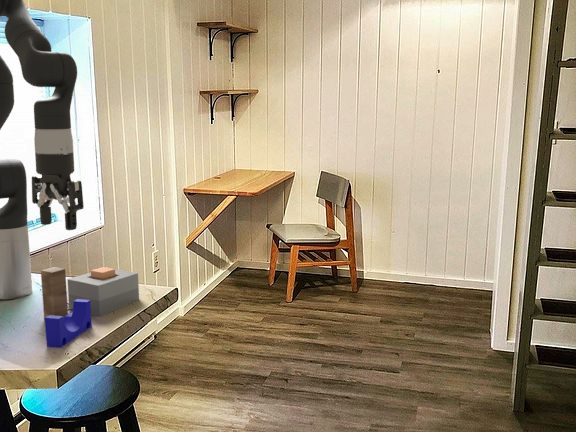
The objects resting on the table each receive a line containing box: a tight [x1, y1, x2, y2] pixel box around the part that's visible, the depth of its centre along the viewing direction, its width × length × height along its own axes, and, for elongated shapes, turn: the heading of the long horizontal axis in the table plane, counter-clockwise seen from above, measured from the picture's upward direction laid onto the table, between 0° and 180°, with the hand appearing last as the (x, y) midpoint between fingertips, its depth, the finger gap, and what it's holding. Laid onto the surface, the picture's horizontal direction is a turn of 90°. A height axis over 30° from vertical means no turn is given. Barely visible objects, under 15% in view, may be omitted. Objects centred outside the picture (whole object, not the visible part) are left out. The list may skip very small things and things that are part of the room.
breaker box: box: [66, 267, 140, 317], centre depth 148 cm, size 10×12×7 cm
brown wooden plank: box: [40, 266, 69, 321], centre depth 138 cm, size 4×4×11 cm
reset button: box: [90, 266, 116, 280], centre depth 147 cm, size 4×4×3 cm
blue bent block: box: [44, 299, 93, 349], centre depth 128 cm, size 12×4×6 cm, turn 169°
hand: (58, 227), depth 136 cm, fingers open, 8 cm apart
